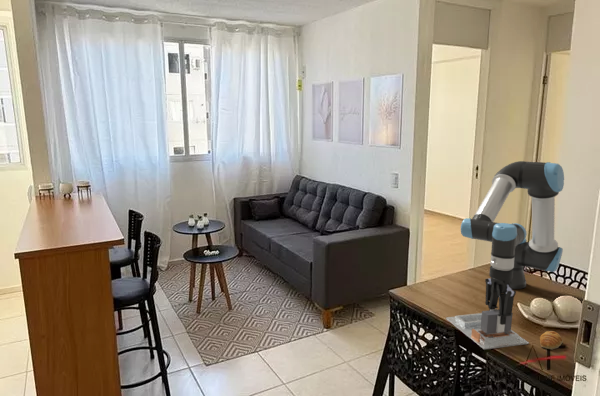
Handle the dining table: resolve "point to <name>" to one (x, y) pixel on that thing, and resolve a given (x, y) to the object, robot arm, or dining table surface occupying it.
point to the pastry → (550, 340)
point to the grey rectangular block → (493, 321)
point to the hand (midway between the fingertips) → (496, 328)
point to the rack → (486, 341)
